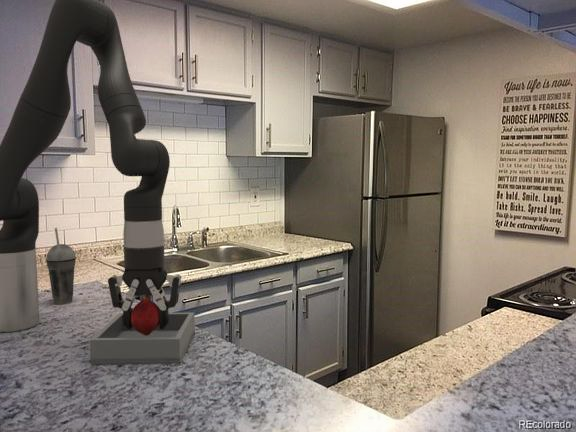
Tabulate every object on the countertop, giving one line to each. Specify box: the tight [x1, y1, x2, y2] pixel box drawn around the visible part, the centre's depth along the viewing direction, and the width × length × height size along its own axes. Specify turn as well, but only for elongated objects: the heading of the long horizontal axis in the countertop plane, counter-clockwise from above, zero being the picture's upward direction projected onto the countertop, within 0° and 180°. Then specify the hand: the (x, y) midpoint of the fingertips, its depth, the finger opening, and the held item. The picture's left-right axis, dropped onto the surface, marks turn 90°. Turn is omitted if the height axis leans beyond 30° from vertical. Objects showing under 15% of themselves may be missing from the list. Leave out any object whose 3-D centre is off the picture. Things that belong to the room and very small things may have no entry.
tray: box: [89, 312, 196, 365], centre depth 92 cm, size 16×16×4 cm
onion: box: [130, 295, 160, 336], centre depth 92 cm, size 6×6×8 cm
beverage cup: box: [45, 227, 77, 306], centre depth 124 cm, size 7×7×20 cm
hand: (146, 327), depth 92 cm, fingers closed on onion, 5 cm apart
